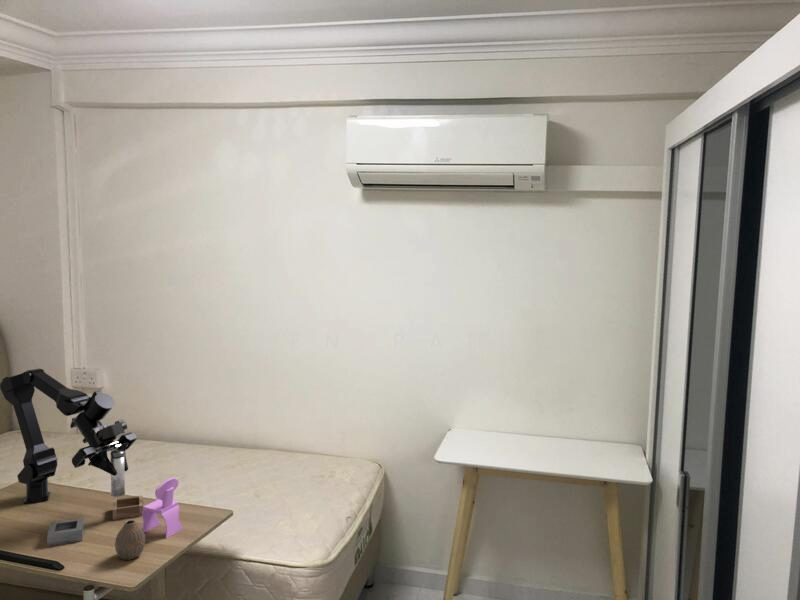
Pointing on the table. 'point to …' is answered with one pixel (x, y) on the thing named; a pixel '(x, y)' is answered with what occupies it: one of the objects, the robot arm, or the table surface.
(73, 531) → the socket block
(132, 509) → the block
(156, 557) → the table surface
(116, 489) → the silver and grey cylinder
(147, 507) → the toy chair
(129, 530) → the vase
